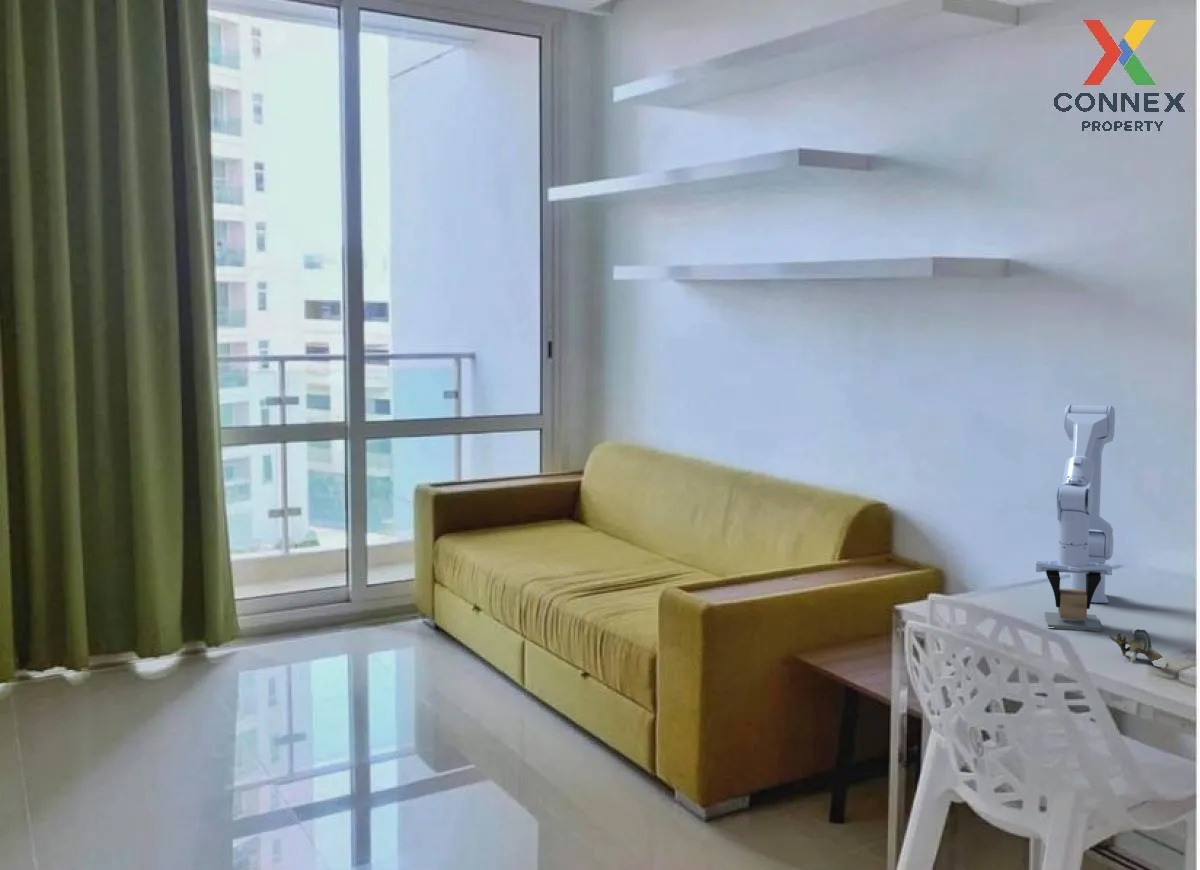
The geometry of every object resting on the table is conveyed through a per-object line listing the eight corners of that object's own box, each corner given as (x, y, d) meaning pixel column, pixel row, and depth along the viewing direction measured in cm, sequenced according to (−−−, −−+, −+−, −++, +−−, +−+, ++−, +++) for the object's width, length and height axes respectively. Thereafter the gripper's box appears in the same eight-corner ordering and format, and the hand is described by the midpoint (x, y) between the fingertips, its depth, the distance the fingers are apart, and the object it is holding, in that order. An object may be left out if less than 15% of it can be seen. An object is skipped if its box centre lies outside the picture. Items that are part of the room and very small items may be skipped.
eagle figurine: (1102, 654, 204) (1146, 657, 196) (1111, 618, 206) (1155, 620, 198) (1127, 670, 207) (1172, 674, 199) (1136, 635, 209) (1180, 637, 201)
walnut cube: (1058, 611, 231) (1058, 588, 231) (1084, 612, 230) (1084, 589, 229) (1060, 618, 227) (1060, 594, 226) (1086, 619, 225) (1087, 595, 224)
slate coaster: (1044, 615, 235) (1044, 612, 234) (1095, 618, 231) (1095, 614, 231) (1048, 628, 225) (1048, 624, 225) (1101, 631, 222) (1101, 627, 222)
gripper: (1037, 545, 225) (1036, 609, 226) (1114, 547, 220) (1113, 613, 222) (1035, 538, 232) (1034, 601, 233) (1110, 541, 227) (1108, 605, 228)
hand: (1072, 607), depth 228 cm, fingers closed on walnut cube, 5 cm apart
